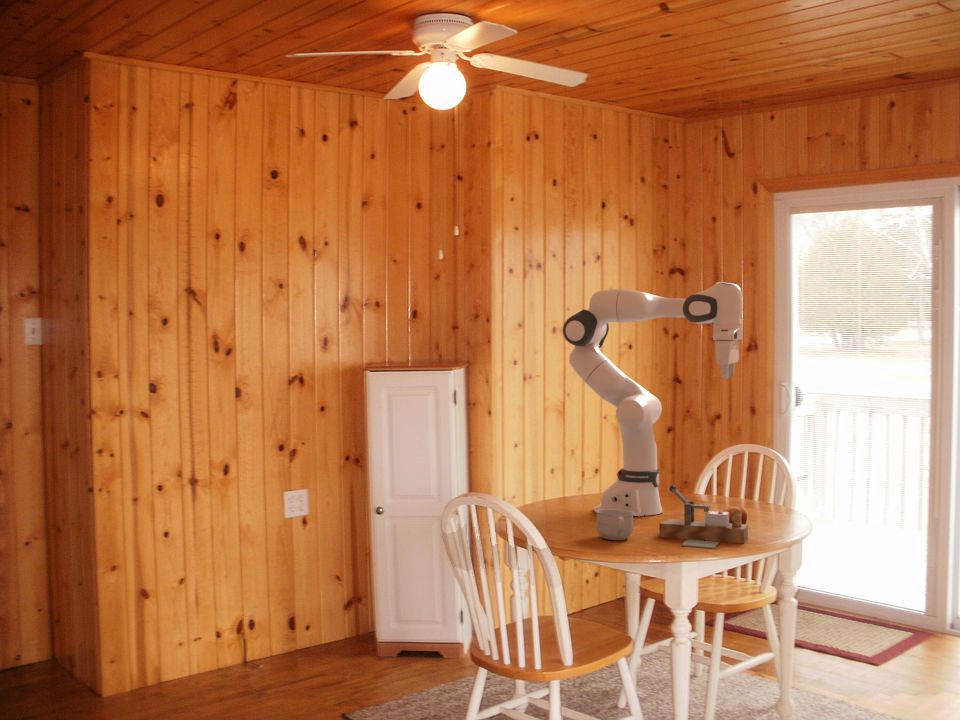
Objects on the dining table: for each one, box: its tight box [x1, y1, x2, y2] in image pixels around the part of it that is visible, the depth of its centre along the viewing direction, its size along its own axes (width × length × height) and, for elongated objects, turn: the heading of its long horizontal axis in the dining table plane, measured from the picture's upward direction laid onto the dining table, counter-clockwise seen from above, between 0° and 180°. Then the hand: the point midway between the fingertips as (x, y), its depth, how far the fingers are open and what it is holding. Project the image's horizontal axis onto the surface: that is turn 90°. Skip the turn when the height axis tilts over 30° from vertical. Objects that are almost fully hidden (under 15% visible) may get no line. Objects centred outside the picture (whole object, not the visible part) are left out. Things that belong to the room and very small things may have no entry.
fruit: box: [722, 505, 748, 525], centre depth 286 cm, size 8×8×8 cm
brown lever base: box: [658, 500, 749, 544], centre depth 275 cm, size 24×7×10 cm, turn 65°
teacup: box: [595, 509, 634, 541], centre depth 275 cm, size 14×11×8 cm
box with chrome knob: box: [704, 510, 729, 527], centre depth 273 cm, size 6×4×4 cm
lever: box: [669, 484, 711, 513], centre depth 276 cm, size 12×3×7 cm, turn 65°
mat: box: [681, 539, 720, 549], centre depth 266 cm, size 9×7×1 cm
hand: (727, 378), depth 297 cm, fingers open, 8 cm apart
